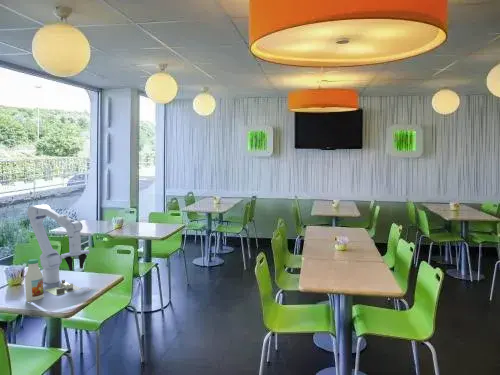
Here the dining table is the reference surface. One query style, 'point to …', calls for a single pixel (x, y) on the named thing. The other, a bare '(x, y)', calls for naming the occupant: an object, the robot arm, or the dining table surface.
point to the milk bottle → (33, 281)
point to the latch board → (61, 290)
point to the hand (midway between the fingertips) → (76, 269)
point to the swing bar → (66, 285)
